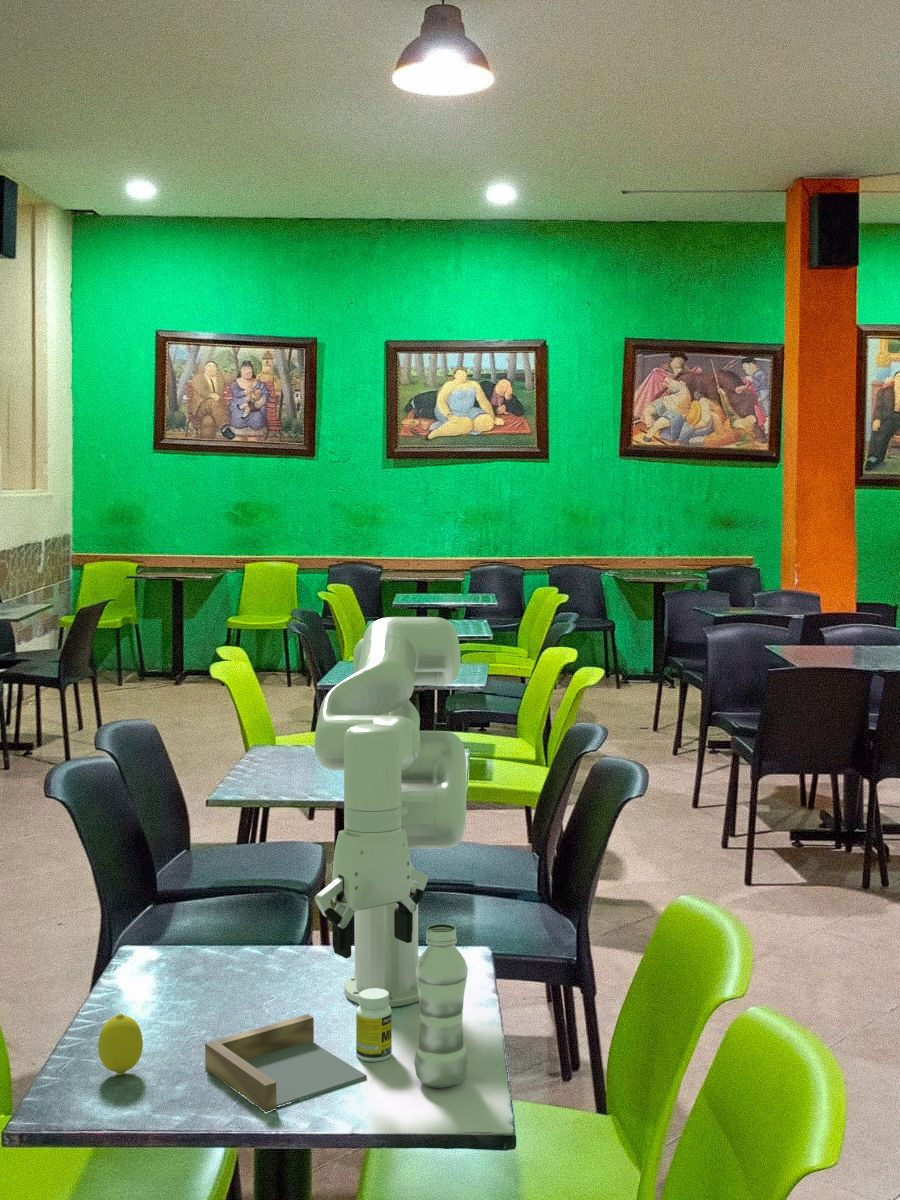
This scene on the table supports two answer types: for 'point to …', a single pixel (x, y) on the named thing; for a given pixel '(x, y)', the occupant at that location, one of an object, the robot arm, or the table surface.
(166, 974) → the table surface
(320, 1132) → the table surface
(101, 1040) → the lemon
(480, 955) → the table surface
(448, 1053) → the plastic bottle
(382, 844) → the robot arm
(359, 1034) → the supplement bottle
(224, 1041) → the corner walls
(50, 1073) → the table surface
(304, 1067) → the mat
